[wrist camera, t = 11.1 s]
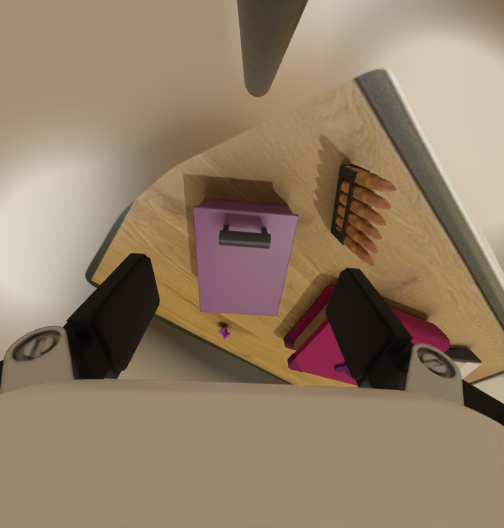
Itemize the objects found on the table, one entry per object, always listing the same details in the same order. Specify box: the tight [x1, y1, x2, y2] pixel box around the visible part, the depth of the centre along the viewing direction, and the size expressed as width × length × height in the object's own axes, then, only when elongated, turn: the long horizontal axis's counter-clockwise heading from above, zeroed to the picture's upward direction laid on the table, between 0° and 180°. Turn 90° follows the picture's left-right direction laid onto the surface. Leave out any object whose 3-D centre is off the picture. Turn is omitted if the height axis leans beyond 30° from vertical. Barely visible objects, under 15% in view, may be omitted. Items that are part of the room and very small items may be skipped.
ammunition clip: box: [331, 164, 396, 266], centre depth 27 cm, size 11×2×12 cm, turn 4°
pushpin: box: [219, 325, 230, 339], centre depth 46 cm, size 2×3×3 cm
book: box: [284, 285, 450, 389], centre depth 46 cm, size 21×28×8 cm
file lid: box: [193, 206, 299, 316], centre depth 29 cm, size 18×13×5 cm
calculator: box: [443, 348, 482, 379], centre depth 54 cm, size 11×4×15 cm
